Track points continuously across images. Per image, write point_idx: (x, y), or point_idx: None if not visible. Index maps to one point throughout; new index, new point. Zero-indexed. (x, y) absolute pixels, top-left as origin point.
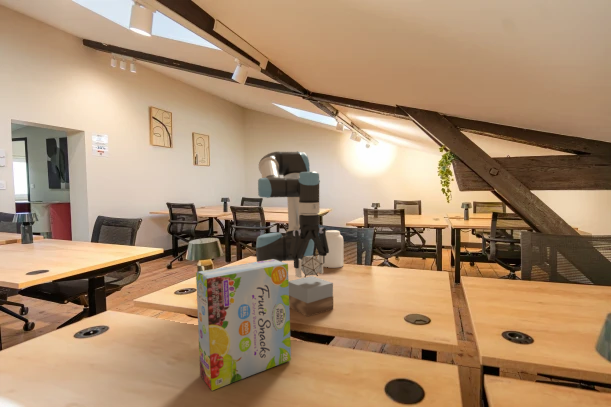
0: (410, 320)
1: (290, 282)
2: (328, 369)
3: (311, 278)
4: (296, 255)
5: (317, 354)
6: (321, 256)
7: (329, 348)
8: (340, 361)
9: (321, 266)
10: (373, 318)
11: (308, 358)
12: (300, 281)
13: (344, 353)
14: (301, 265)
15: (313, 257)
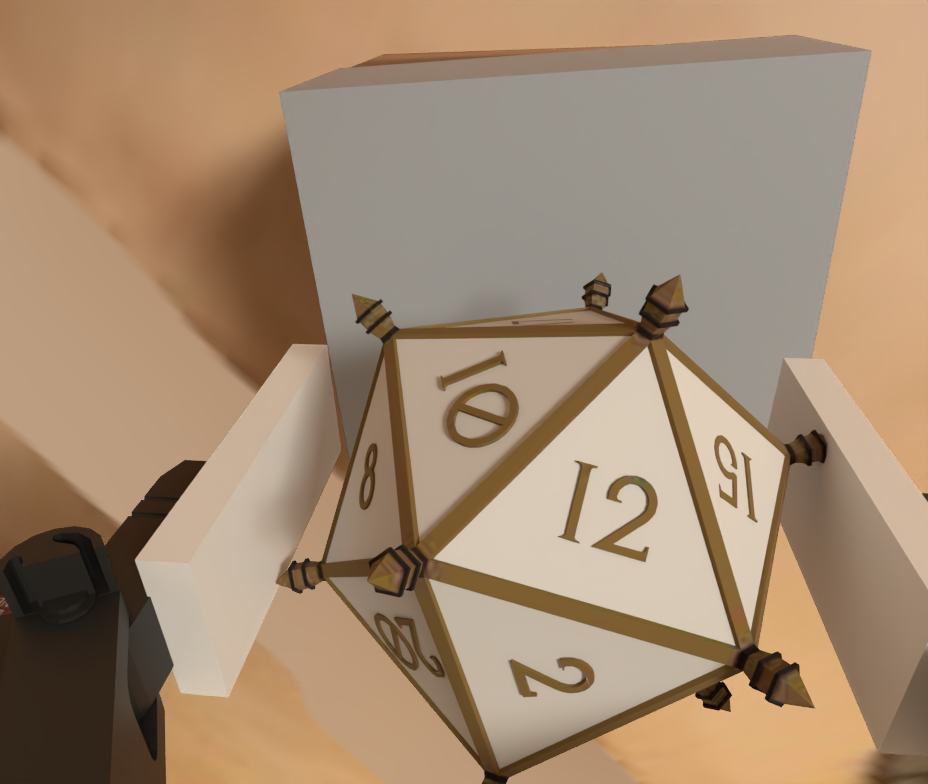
0: (907, 760)
1: (300, 174)
2: (211, 768)
3: (724, 189)
4: (104, 665)
5: (222, 698)
6: (874, 742)
7: (296, 697)
8: (280, 765)
9: (796, 546)
10: (771, 641)
11: (173, 697)
12: (462, 225)
13: (330, 746)
14: (284, 584)
15: (587, 736)
